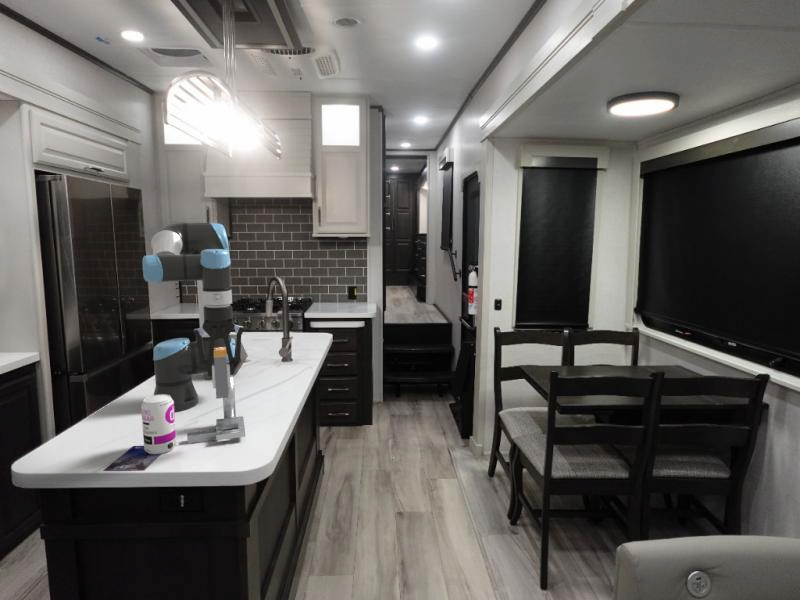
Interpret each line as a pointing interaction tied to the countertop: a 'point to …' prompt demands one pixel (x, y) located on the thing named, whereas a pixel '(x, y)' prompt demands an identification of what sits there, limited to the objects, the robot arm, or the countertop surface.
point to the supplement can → (158, 424)
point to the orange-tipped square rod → (221, 372)
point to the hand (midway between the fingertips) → (221, 385)
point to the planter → (237, 364)
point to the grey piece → (222, 422)
